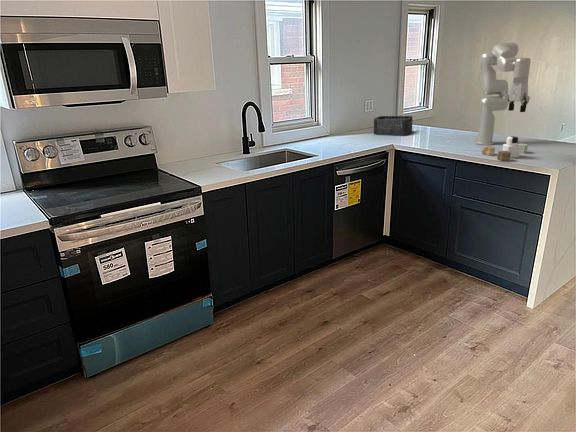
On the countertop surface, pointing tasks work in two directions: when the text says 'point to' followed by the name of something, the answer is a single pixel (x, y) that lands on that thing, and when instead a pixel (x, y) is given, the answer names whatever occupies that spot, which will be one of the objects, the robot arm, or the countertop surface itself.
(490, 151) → the oak cube
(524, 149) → the sage cube
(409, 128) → the storage bin
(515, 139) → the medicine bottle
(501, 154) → the walnut cube
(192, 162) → the countertop surface
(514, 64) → the robot arm
